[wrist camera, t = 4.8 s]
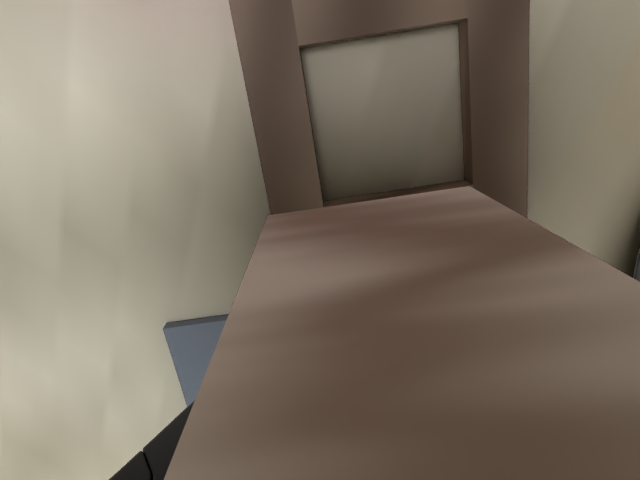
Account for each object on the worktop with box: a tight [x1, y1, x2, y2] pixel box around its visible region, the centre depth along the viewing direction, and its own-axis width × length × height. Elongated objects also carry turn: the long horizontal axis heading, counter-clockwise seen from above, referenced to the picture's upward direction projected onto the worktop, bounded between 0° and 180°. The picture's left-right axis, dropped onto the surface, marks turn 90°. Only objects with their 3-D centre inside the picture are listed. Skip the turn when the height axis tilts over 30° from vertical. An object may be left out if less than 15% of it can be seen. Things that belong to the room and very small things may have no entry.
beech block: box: [164, 186, 640, 480], centre depth 7 cm, size 5×5×9 cm
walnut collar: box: [229, 0, 530, 218], centre depth 19 cm, size 12×12×1 cm
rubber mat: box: [163, 315, 228, 407], centre depth 24 cm, size 10×10×1 cm
